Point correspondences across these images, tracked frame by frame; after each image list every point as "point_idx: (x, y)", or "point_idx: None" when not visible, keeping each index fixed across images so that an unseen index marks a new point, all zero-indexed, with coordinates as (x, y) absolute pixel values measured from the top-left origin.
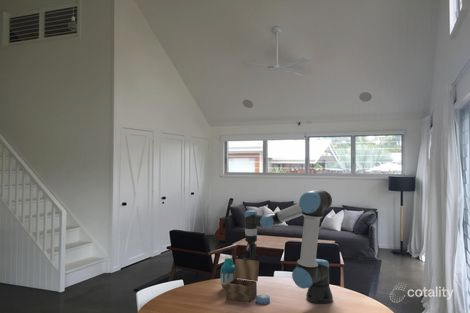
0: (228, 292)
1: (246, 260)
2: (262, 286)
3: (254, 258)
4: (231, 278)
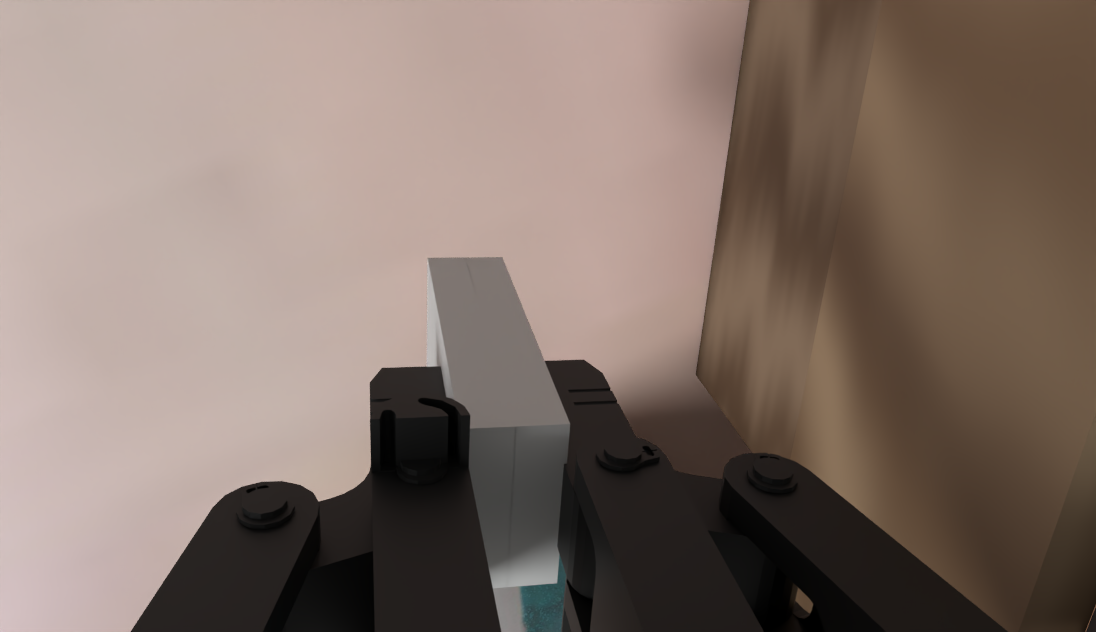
0: None
1: (1072, 604)
2: (98, 41)
3: (310, 532)
4: None
